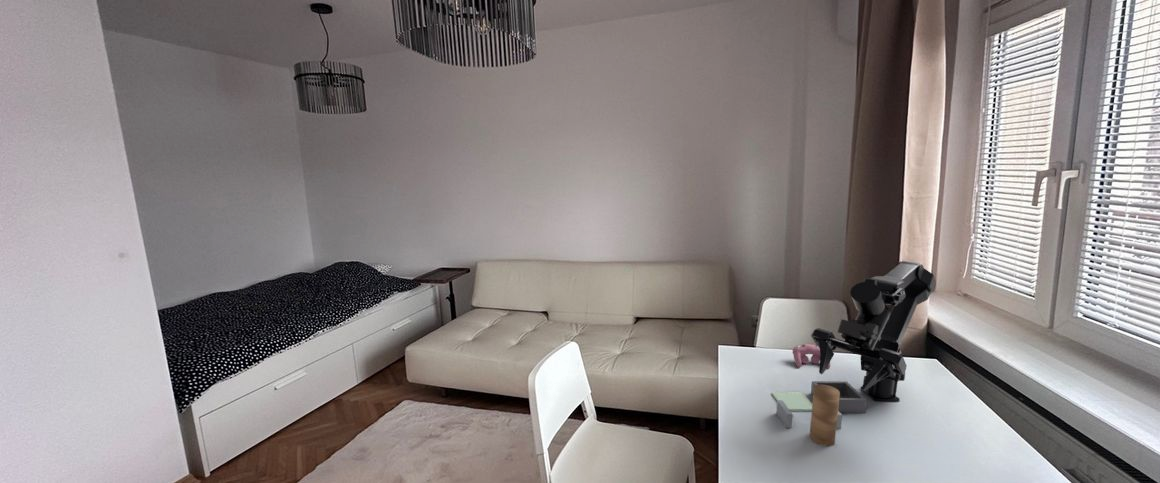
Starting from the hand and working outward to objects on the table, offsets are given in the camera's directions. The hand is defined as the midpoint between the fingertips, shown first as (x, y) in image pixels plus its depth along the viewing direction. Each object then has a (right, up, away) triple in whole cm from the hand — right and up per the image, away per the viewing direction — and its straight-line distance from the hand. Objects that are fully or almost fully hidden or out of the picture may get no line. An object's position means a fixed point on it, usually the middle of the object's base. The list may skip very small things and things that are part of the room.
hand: (840, 381), depth 99 cm
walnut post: (-5, -13, -1) cm, 14 cm away
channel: (-5, -11, +6) cm, 13 cm away
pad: (-4, -10, +14) cm, 17 cm away
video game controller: (+11, -6, +34) cm, 36 cm away
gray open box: (+7, -10, +13) cm, 18 cm away
